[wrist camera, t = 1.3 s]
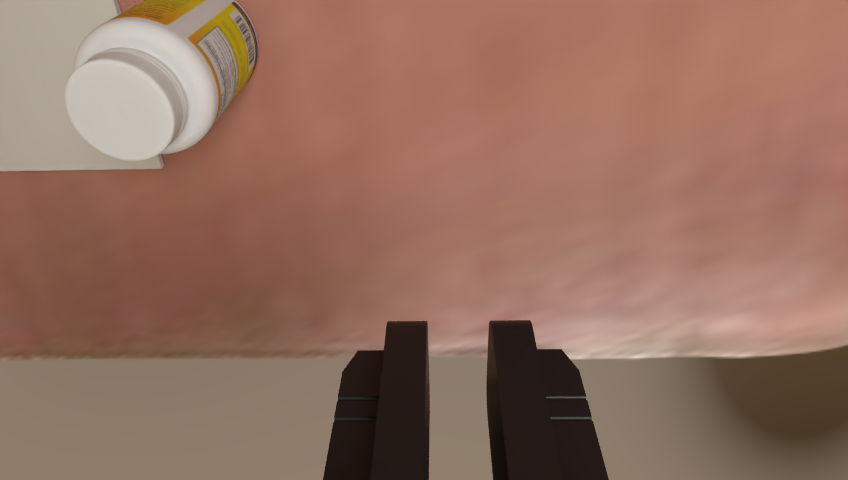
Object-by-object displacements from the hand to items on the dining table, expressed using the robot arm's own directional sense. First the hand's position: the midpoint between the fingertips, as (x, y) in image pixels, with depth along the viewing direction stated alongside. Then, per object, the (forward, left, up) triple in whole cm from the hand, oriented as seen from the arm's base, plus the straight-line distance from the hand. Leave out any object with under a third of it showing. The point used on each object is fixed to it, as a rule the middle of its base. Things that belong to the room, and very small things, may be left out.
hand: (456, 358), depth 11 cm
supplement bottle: (0, -12, -23) cm, 26 cm away
